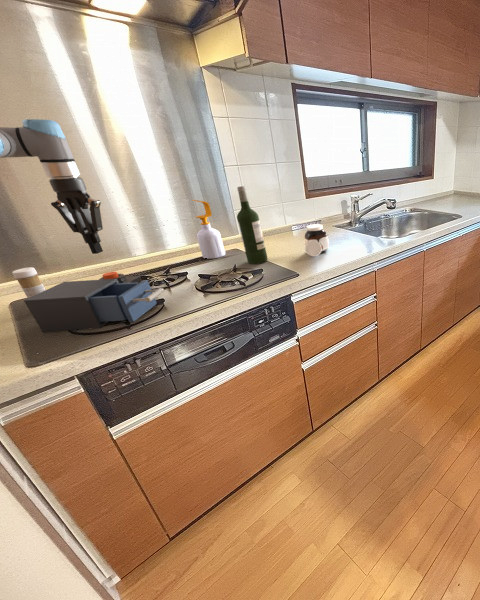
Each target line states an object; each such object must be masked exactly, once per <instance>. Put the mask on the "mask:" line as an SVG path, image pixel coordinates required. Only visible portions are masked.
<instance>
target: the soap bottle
mask: <svg viewBox="0 0 480 600" xmlns="http://www.w3.org/2000/svg"><path fill="white" fill-rule="evenodd" d="M192 202H198V203H202V205H203V208H204V211H205V214H202V215H196V216H195V218H196V219H199V220H201V221H202V222H200V227H201V229H200V230H198V232H197V233H196V240H197V243H198V246H199V249H200V250H199V251H200V252H201V256H202V258H203V259H205V258H207V259H206V260H214V259H219V258H222V257H224V256H226V250H225V247H224V243H223V239H222V235H221V232H220V231H219V230H217V229H215V228H213V227H211V223H210V221H208V218H210V217H212V215H213V214H212V210H211V206H210V204H209V202H208V201H204V200H196V199H192Z"/></svg>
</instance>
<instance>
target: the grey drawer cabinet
mask: <svg viewBox="0 0 480 600" xmlns="http://www.w3.org/2000/svg"><path fill="white" fill-rule="evenodd" d="M112 284H119V282H118V280H117V279H103V280H99V279H89V280H88V279H87V280H70V281H62V282H60V283H59V284H56V285H54V286H52V287H50V288H47V289H46V290H45V291H43V292H41V293H39V294H37V295H34V296H32V297H30V298H26V299H24V300H23V302H24V303H25V305H26V307H27V308H28V310H29V312H30V314H31V315H32V318H33V319H34V320H35V322H36V324H37V326H38V327H39V329H40V331H41V332H42V333H50V332H52V333H53V332H63V331H65V332H66V331H74V330H73V329H80V330H90V329H89V328H93V329H101V328H103V327H104V326H105V325H106V323H107V322H100V321H99V319H98V317H97V315H96V313H95V311H94V309H93V307H92V305H91V303H90V301H89V299H88V298H89V297H90V296H92V295H94V294H96V293H98V292H99V291H101V290H103V289H105V288H106V287H108V286H110V285H112ZM108 323H110V322H109V321H108ZM108 323H107V324H108ZM100 327H101V328H100Z"/></svg>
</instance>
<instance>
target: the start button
mask: <svg viewBox="0 0 480 600" xmlns="http://www.w3.org/2000/svg"><path fill="white" fill-rule="evenodd" d="M118 274H119V273H118V272H117V271H108V272H105V273H102V274H101V275H102V277H103V278H104V279H114V278H117V277H119V276H118Z"/></svg>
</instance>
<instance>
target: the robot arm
mask: <svg viewBox="0 0 480 600" xmlns="http://www.w3.org/2000/svg"><path fill="white" fill-rule="evenodd" d="M29 157H30V158H32V157H33V158H34V157H35V158H36V157H37V159H38V160H39V163H40V164H41V167H42V169H43V171H44V173H45V177H47V178H50V179H49V180H48V182H49V184H50V186H51V189H52V190H53V192H54V193H56V200H55V201H53V202H50V205H51V207H53V208H54V209H55V210H56V211H57V212H58V213H59V215H60V216H61V217H62V219H63V220H64V221H65V222H66V224H67V226H68V227H69V228H70V229H71V231H72V232H73V233H79V234H80V235H81V237H82V239H83V241H84V243H85V244H88V247H89V250H90V251H91V254H92V255H96V254H97V255H98V254H101V253H103V252H104V250H103V248H102V245H101V242H102V241H101V238H100V235H99V233H98V232H99V231H101V230H104V227H103V222H102V216H101V215H102V214H101V204H102V202H101V200H99V199H95V198H92V197H91V196H90V194H89V193H88V192H87V186H86V183H85V182H84V178H82V177H80V176H81V172H80V170H79V168H78V167H79V166H78V164H77V163H76V160H75V157H74V155H73V152H72V150H71V148H70V145H69V142H68V140H67V137H66V136H65V134H64V132H63V129H62V127H61V126H60V124H59V123H58V122H57V121H55V120H52V119H39V118H37V119H36V118H35V119H34V118H32V119H30V118H27V119H26V118H25V119H22V126H19V127H18V126H17V127H9V126H8V127H7V126H5V127H2V126H0V159H4V158H5V159H6V158H29Z"/></svg>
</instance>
